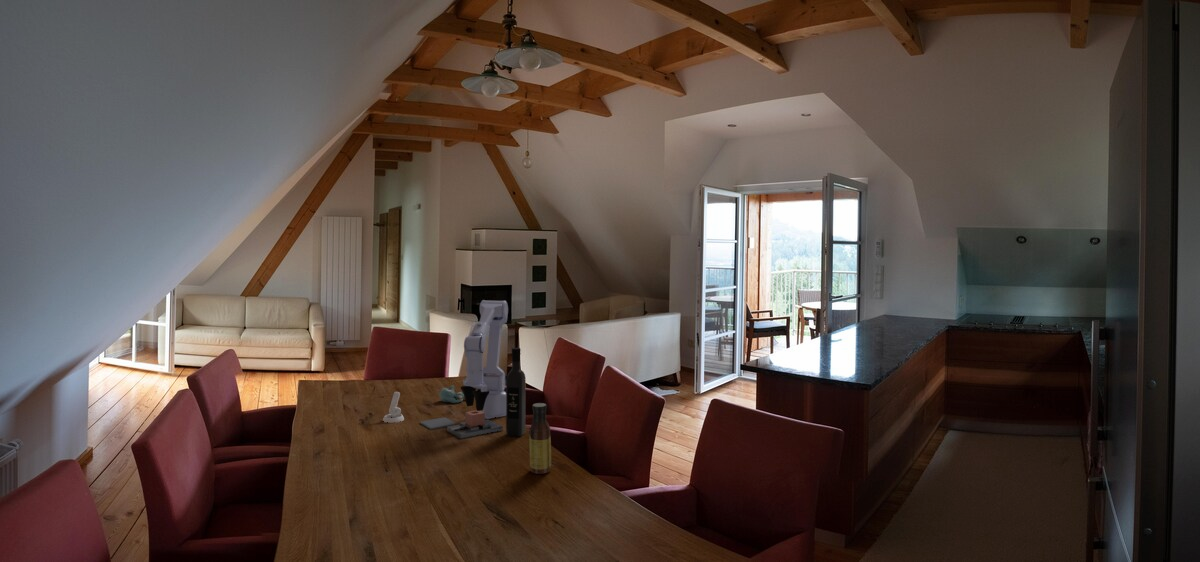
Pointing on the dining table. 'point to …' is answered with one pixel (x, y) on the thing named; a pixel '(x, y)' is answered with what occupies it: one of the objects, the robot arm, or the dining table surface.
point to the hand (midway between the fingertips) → (474, 408)
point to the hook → (394, 410)
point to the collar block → (474, 418)
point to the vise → (474, 429)
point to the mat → (438, 423)
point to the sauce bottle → (540, 441)
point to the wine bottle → (515, 397)
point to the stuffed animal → (450, 395)
